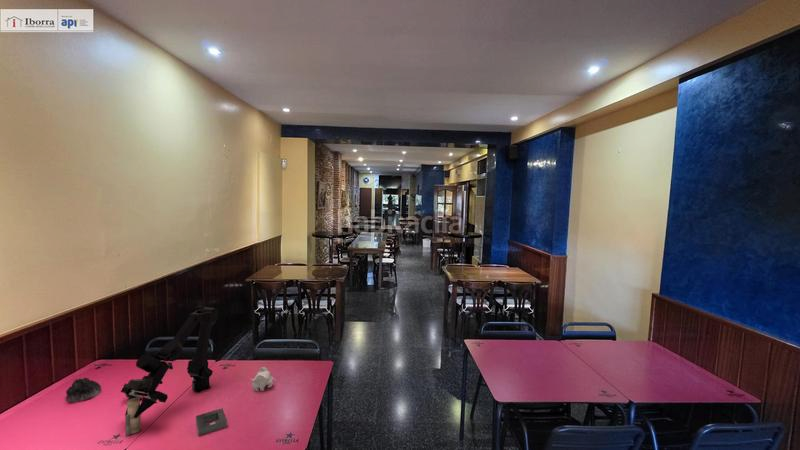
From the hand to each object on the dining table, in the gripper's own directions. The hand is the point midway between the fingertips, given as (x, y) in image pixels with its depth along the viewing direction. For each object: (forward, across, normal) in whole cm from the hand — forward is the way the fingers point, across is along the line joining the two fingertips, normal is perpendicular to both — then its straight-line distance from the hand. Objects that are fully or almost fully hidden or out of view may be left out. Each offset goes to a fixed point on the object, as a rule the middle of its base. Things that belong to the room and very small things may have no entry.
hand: (130, 416), depth 138 cm
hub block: (-4, +26, +14) cm, 30 cm away
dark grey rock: (-5, -47, +16) cm, 50 cm away
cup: (-8, -22, +18) cm, 30 cm away
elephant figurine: (-26, +28, +36) cm, 53 cm away
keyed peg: (+4, 0, +6) cm, 7 cm away
